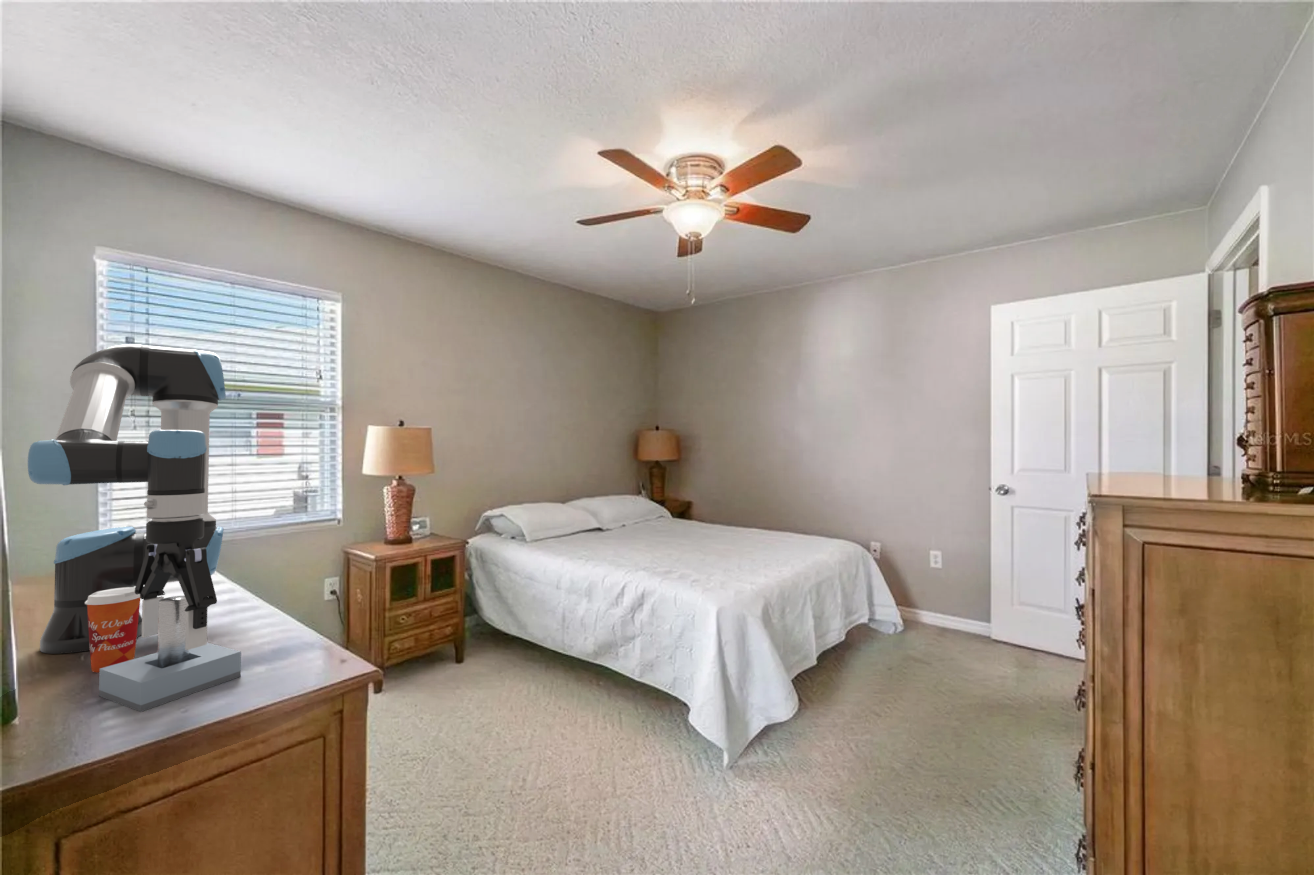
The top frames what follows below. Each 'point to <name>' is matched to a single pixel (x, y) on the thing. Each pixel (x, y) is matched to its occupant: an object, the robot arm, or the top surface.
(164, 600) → the pin
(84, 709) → the top surface
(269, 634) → the top surface
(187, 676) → the socket block
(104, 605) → the paper cup
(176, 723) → the top surface
